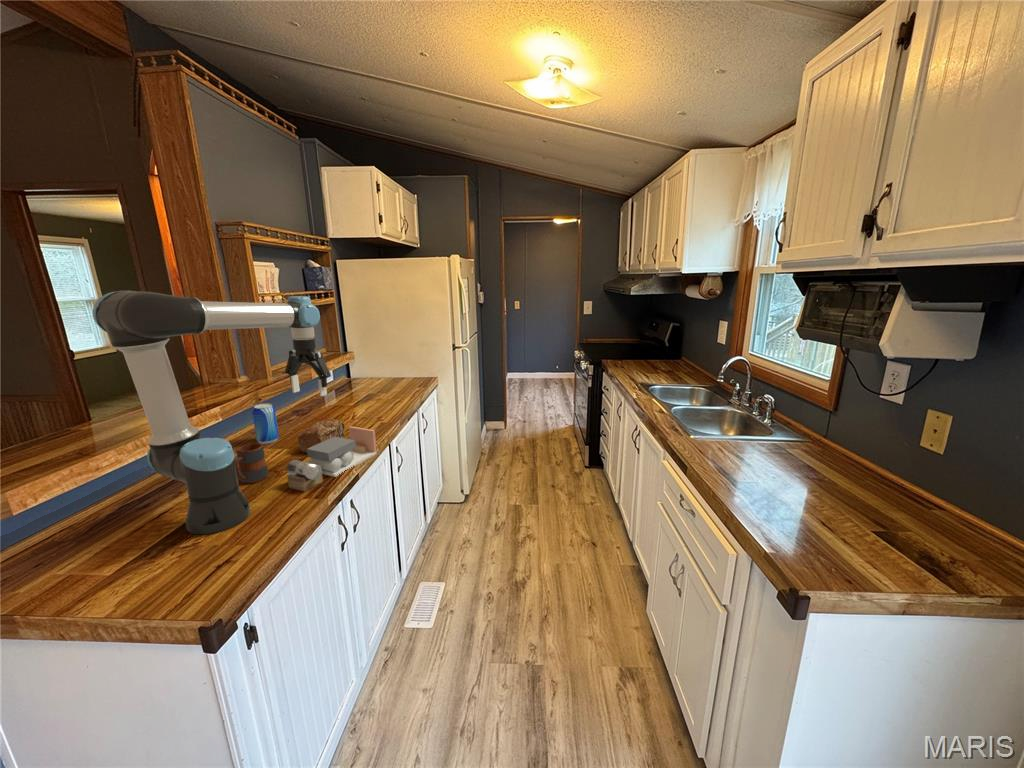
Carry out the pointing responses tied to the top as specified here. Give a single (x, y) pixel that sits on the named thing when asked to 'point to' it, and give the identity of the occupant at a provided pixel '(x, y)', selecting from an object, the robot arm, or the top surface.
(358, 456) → the roller bed
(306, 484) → the rack
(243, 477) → the mug
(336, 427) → the bread
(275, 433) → the beer can
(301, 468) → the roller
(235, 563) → the top surface
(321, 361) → the robot arm
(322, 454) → the slab
